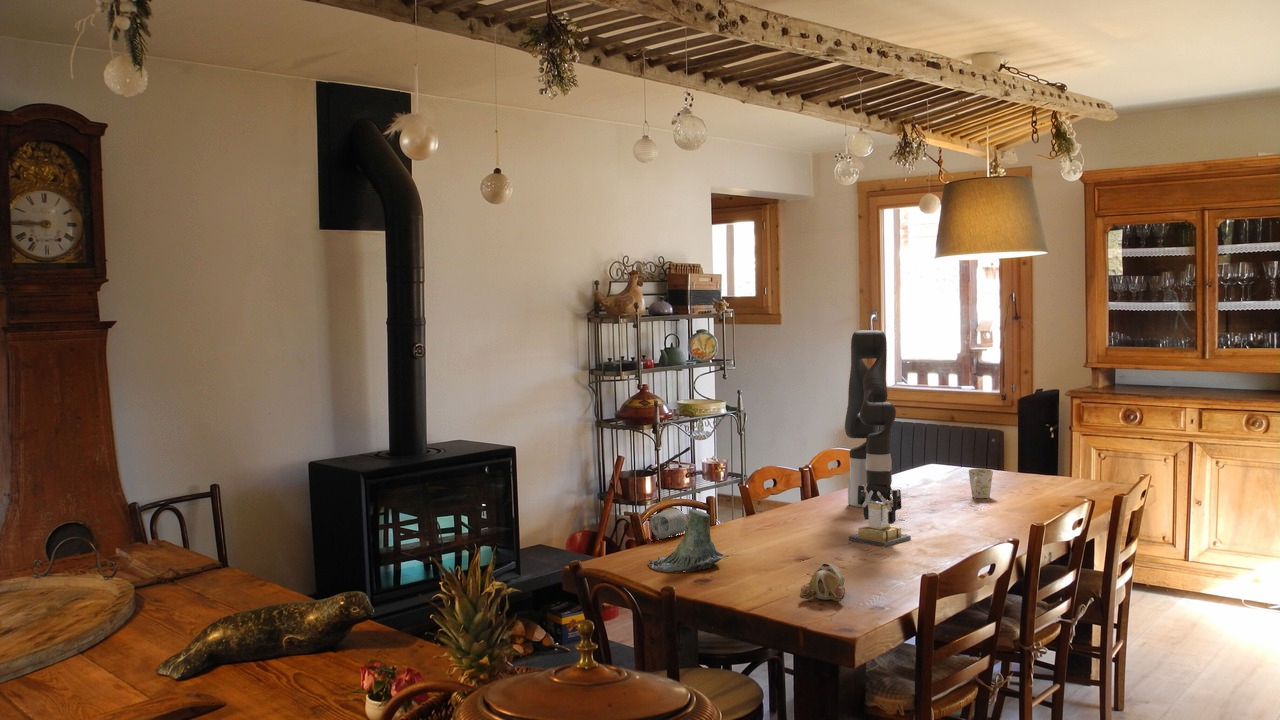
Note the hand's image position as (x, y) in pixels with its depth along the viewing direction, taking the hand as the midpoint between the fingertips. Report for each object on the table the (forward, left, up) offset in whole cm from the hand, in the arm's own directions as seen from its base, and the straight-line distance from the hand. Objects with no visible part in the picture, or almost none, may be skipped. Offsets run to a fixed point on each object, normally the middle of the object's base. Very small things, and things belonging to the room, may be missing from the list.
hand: (879, 521), depth 295 cm
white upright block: (0, 0, -4) cm, 5 cm away
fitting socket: (0, 0, -6) cm, 6 cm away
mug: (-13, +78, -6) cm, 79 cm away
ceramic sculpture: (+27, -59, -6) cm, 65 cm away
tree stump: (-21, -61, -6) cm, 64 cm away
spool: (-51, -40, -6) cm, 65 cm away
